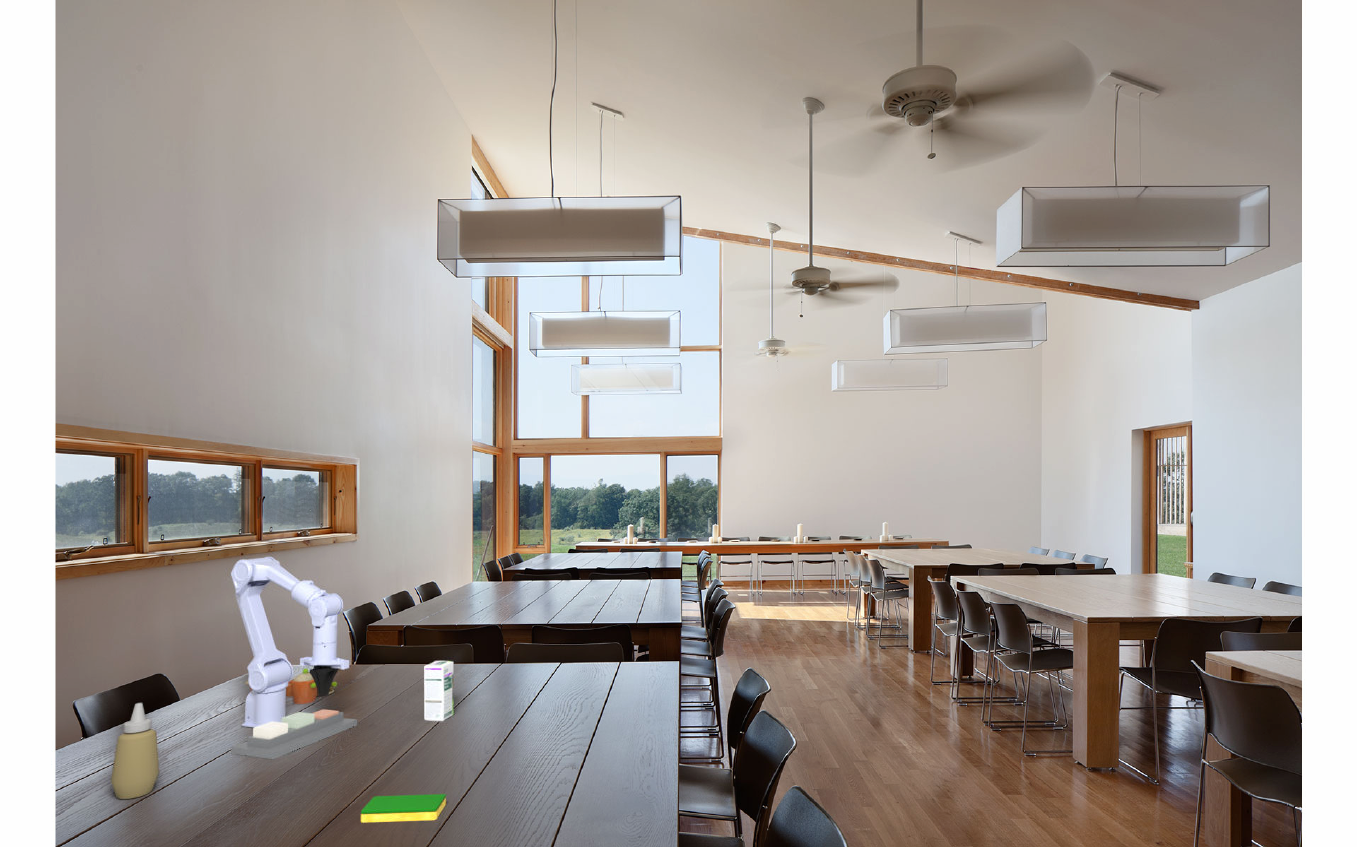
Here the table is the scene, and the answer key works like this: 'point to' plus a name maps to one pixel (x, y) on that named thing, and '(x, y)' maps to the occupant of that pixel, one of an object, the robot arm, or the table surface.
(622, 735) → the table surface
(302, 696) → the toy tea set
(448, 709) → the syrup box
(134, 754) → the squeeze bottle
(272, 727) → the cream key
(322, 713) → the terracotta key
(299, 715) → the sage key
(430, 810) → the dish sponge
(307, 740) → the stepped grey tray
